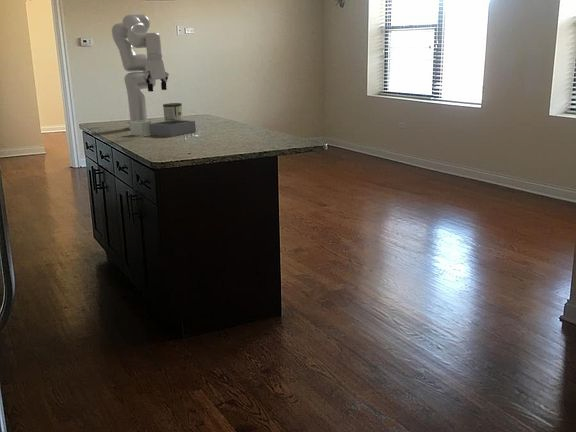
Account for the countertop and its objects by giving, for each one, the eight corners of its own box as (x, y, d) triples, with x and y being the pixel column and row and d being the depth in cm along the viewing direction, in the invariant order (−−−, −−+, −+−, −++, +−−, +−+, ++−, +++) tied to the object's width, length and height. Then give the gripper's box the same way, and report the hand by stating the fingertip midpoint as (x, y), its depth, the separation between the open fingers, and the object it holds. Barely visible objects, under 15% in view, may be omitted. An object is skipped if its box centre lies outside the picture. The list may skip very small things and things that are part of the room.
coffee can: (168, 128, 363) (165, 103, 360) (185, 127, 362) (183, 102, 359) (162, 130, 354) (160, 105, 350) (180, 130, 352) (178, 104, 349)
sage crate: (130, 135, 341) (129, 122, 339) (141, 133, 346) (139, 120, 344) (142, 136, 336) (140, 122, 334) (152, 134, 341) (150, 121, 339)
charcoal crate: (150, 135, 337) (149, 123, 335) (175, 130, 351) (174, 119, 349) (171, 136, 327) (170, 125, 326) (195, 132, 341) (195, 120, 340)
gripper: (161, 56, 340) (164, 89, 345) (137, 58, 326) (140, 92, 331) (171, 56, 336) (174, 89, 340) (147, 57, 322) (150, 92, 327)
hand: (157, 90), depth 336 cm, fingers open, 9 cm apart
